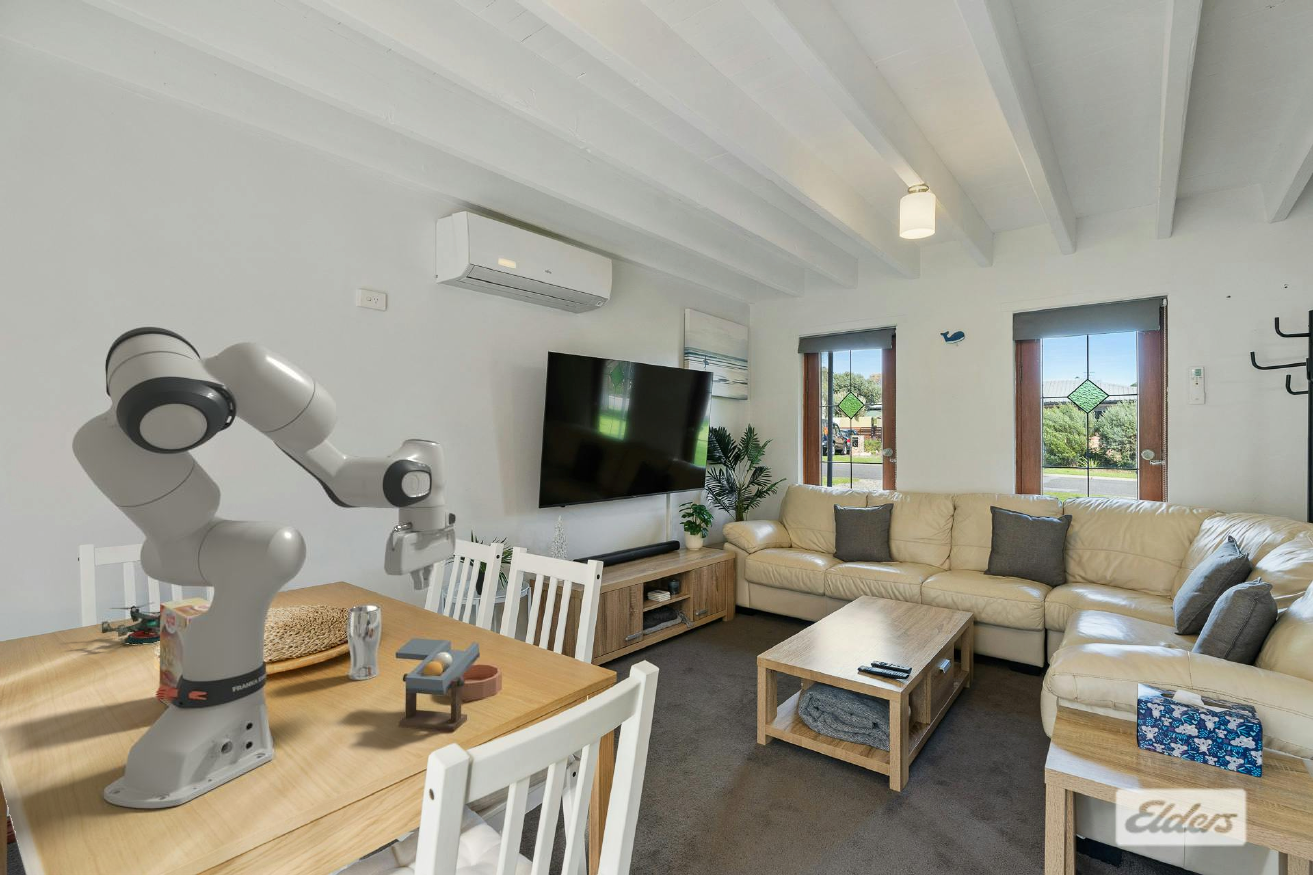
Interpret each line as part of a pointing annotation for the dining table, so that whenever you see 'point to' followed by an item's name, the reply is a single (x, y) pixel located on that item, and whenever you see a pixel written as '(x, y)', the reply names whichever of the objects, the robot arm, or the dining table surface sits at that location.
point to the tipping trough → (427, 652)
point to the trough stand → (433, 718)
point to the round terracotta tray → (480, 682)
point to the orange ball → (433, 669)
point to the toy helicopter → (138, 627)
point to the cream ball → (443, 660)
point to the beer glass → (364, 640)
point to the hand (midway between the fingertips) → (421, 588)
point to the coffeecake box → (175, 637)
